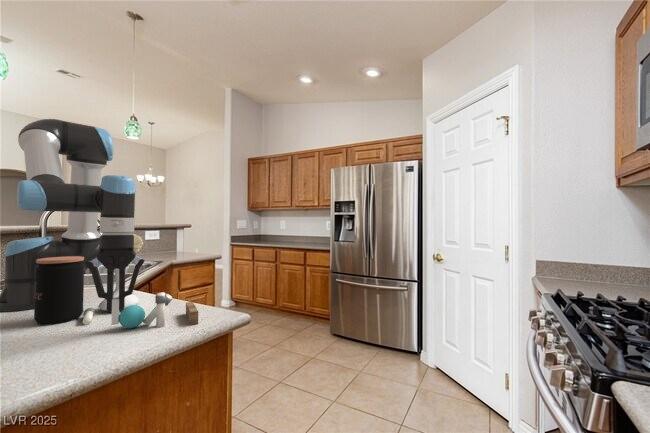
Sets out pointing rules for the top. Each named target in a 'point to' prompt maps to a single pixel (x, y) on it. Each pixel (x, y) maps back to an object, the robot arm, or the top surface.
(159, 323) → the right back pin
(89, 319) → the left back pin
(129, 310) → the ball
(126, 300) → the flower in vase
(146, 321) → the front pin
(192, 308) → the back wall
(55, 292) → the coffee jar
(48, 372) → the top surface
